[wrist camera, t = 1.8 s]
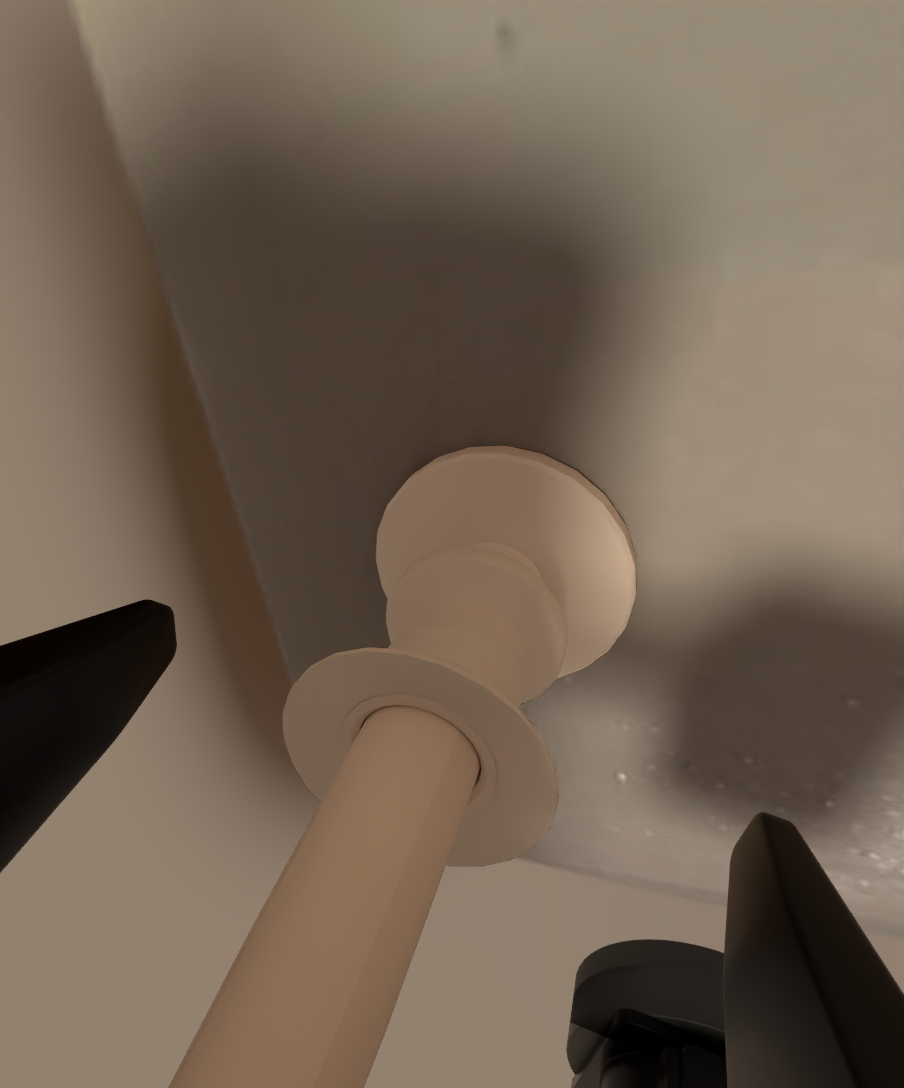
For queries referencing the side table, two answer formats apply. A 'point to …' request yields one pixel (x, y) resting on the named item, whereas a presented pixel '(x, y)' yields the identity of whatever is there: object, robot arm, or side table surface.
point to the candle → (418, 755)
